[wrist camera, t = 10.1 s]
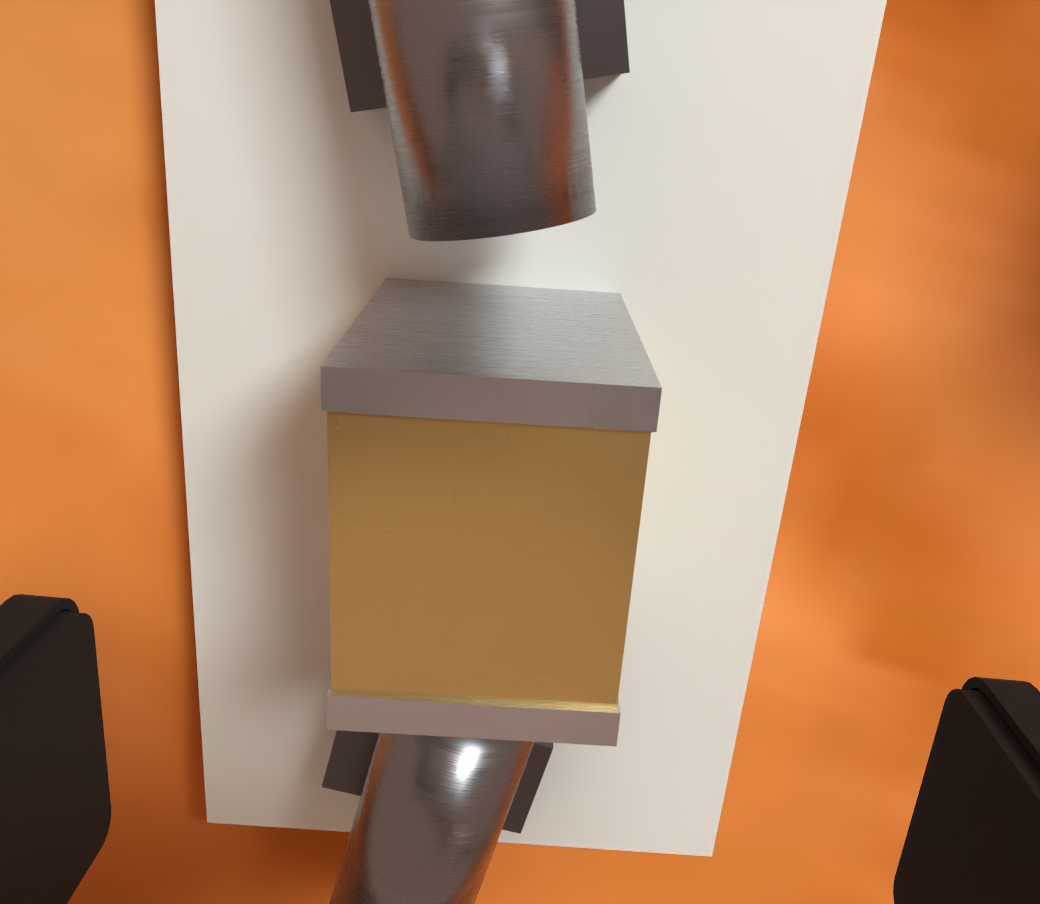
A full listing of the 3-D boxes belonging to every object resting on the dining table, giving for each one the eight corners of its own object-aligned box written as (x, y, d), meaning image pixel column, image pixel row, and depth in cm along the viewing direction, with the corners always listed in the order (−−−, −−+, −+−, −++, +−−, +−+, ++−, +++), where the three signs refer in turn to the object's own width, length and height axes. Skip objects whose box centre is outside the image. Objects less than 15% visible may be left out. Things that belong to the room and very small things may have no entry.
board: (703, 818, 23) (711, 856, 22) (223, 786, 23) (206, 822, 22) (894, -166, 15) (924, -186, 14) (167, -232, 15) (138, -257, 14)
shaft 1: (630, 183, 16) (663, 214, 12) (385, 216, 16) (339, 257, 12) (595, -223, 14) (622, -344, 10) (313, -177, 14) (230, -278, 10)
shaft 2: (499, 845, 22) (492, 1010, 18) (318, 802, 21) (271, 962, 17) (576, 639, 20) (588, 776, 16) (376, 587, 19) (338, 715, 15)
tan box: (386, 277, 17) (320, 366, 11) (620, 292, 17) (662, 387, 12) (384, 549, 19) (326, 729, 14) (592, 561, 19) (616, 747, 14)
